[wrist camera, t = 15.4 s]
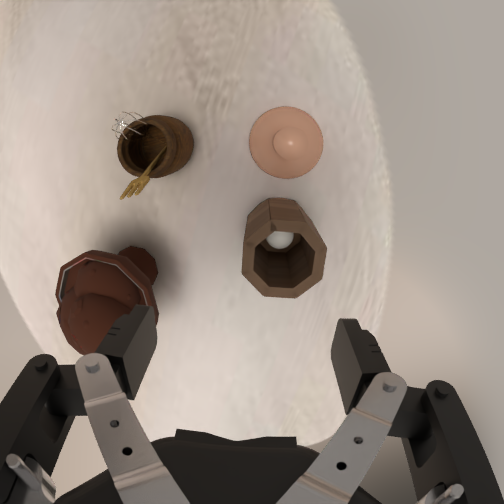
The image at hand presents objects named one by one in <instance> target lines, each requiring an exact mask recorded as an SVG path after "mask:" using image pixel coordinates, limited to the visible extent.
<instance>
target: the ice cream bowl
mask: <svg viewBox="0 0 504 504" xmlns="http://www.w3.org/2000/svg"><path fill="white" fill-rule="evenodd" d="M157 274H158V271H157V267H156V262H155V259H154V258H153V257H152V256H151V255H150V254H149V253H148V252H147V251H146V250H145V249H142V248H137V247H133V246H130V247H128V248H126V249H124V250H122V251H120V252H119V255H116V254H112V253H107V252H103V251H97V250H91V251H88V252H85V253H83V254H81V255H79V256H78V257H76V258H75V259H73V260H71V261H70V262H68V263H66V264H65V265H63V266H62V267H61V268H60V273H59V278H58V283H57V288H56V293H55V295H56V298H57V301H58V303H59V308H58V310H57V313H56V314H57V317H58V321H59V324H60V327H61V329H62V331H63V333H64V335H65V337H66V340H67V342H68V343H69V344H70V345H71V346H72V347H73V348H74V349H75V350H76V351H77V352H79V353H80V354H82V355H87V354H91V353H94V352H95V351H96V349H97V348H98V346H99V345H100V343H101V342H102V340H103V338H104V337H105V335H106V334H107V332H108V331H109V329H110V328H111V326H112V325H113V323H114V322H115V320H116V319H118V318H119V317H121V316H122V315H124V314H128V315H129V314H130V312H131V311H132V309H133V308H134V306H135V305H136V304H137V305H146V306H153V308H154V314H155V322H156V325H157V322H158V316H159V312H158V308H157V304H156V301H155V297H154V294H153V290H152V287H151V285H153V284H154V281H155V279H156V277H157Z"/></svg>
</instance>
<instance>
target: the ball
mask: <svg viewBox="0 0 504 504" xmlns="http://www.w3.org/2000/svg"><path fill="white" fill-rule="evenodd" d="M293 237H294V233H290V232H278V231H274V232H273V233H272V234H270V235H269V236H268V237H267V238H266V240H267V242H268V243H269V245H270V246H272V247H274V248H277V249H283V248H286V247H287V246H289V245H290V244H291V242H292V240H293Z"/></svg>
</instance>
